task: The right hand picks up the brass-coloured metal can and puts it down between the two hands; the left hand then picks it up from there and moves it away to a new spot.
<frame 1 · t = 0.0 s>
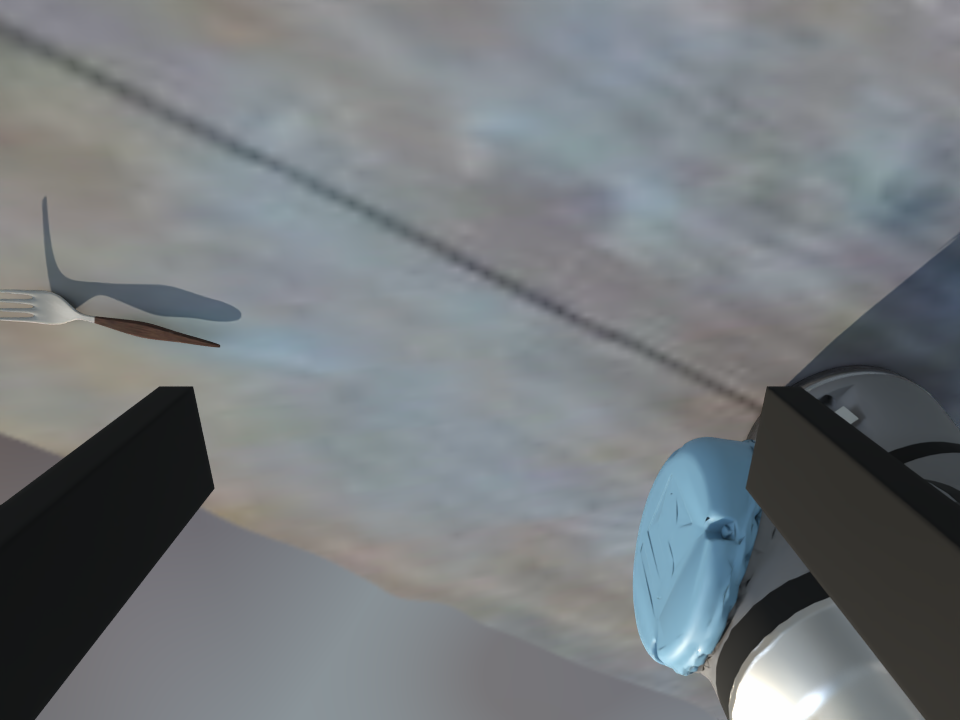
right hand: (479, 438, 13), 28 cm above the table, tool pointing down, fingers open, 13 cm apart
fork: (116, 320, 41), on the table
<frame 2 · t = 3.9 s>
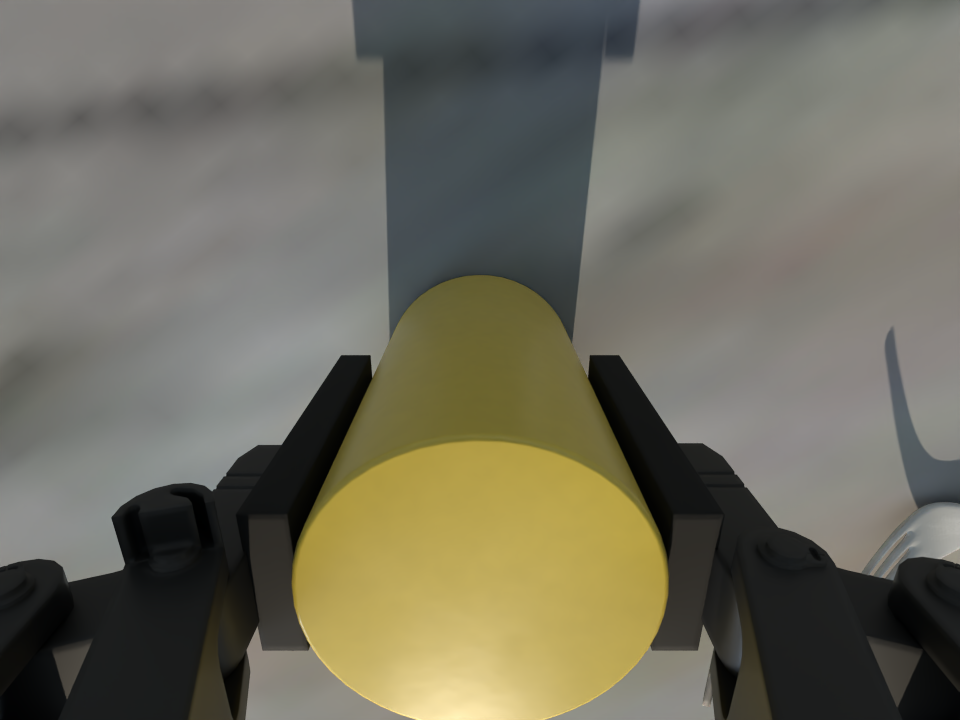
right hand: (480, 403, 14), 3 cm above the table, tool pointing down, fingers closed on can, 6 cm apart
can: (480, 363, 17), on the table, touching right hand
when the right hand's fingers open (4 cm above the table, at t = 15.2 s): can stays where it is, on the table.
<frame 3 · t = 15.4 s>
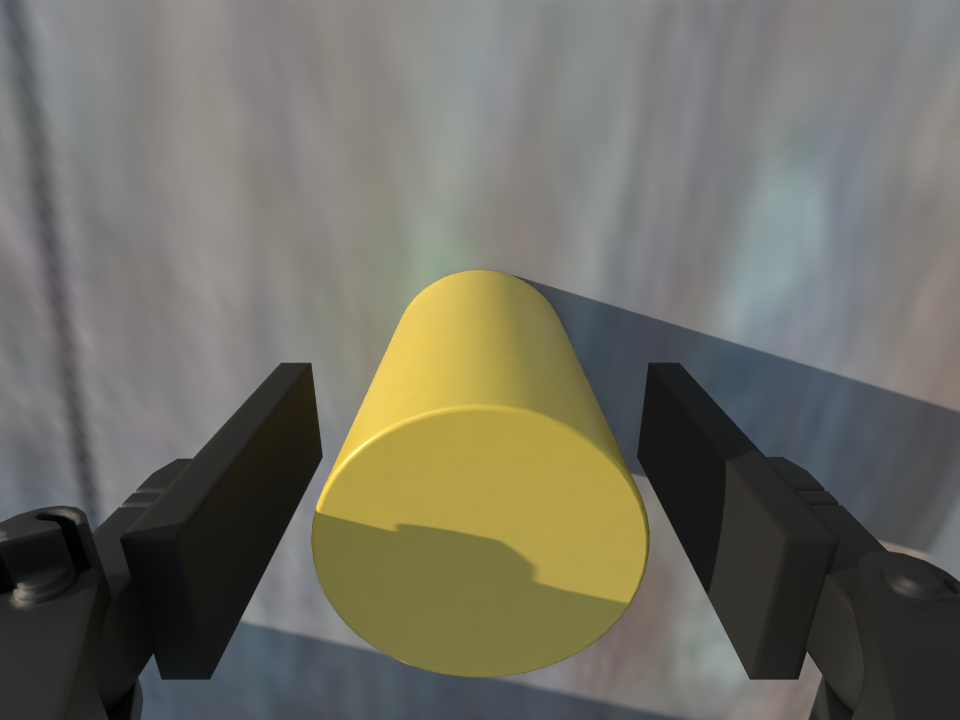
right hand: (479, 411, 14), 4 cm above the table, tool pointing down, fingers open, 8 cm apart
can: (480, 354, 18), on the table
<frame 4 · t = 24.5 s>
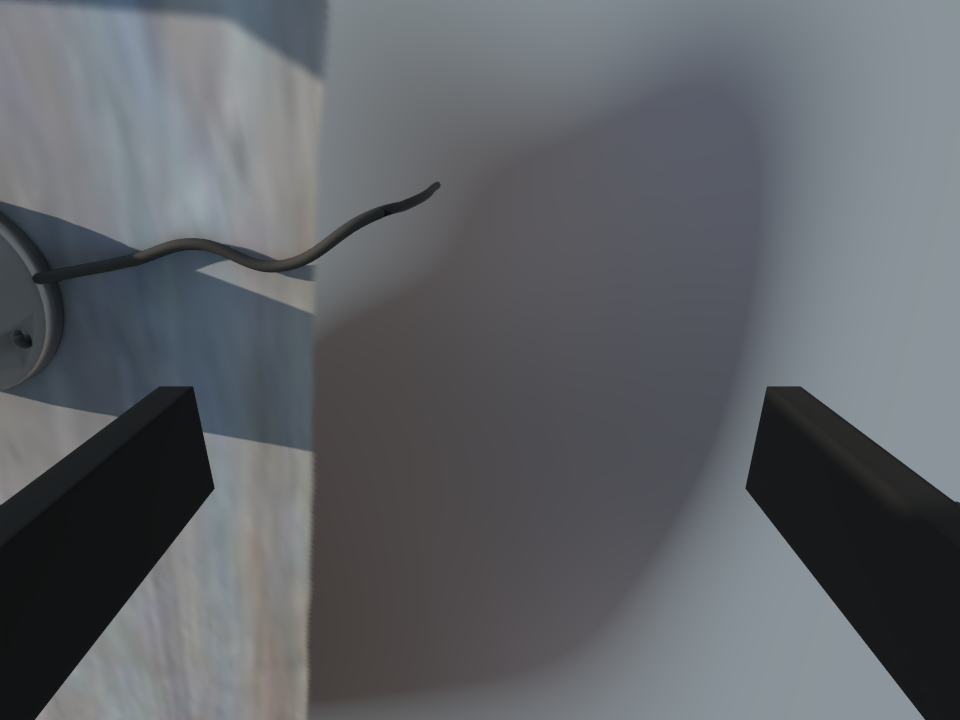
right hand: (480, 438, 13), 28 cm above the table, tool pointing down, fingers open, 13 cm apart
when the left hand's fingers open (4 cm above the table, at t = 31.5 s): can stays where it is, on the table.
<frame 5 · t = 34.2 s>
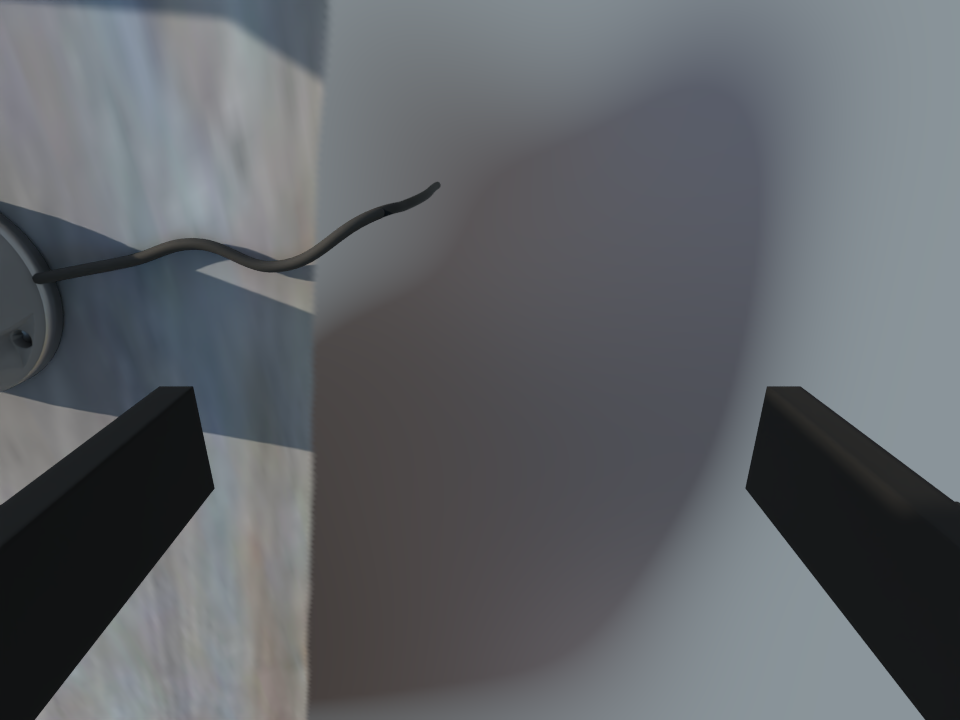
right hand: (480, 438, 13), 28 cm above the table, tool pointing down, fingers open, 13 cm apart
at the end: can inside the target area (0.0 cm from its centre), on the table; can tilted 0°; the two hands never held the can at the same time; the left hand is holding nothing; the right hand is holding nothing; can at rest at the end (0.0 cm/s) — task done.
